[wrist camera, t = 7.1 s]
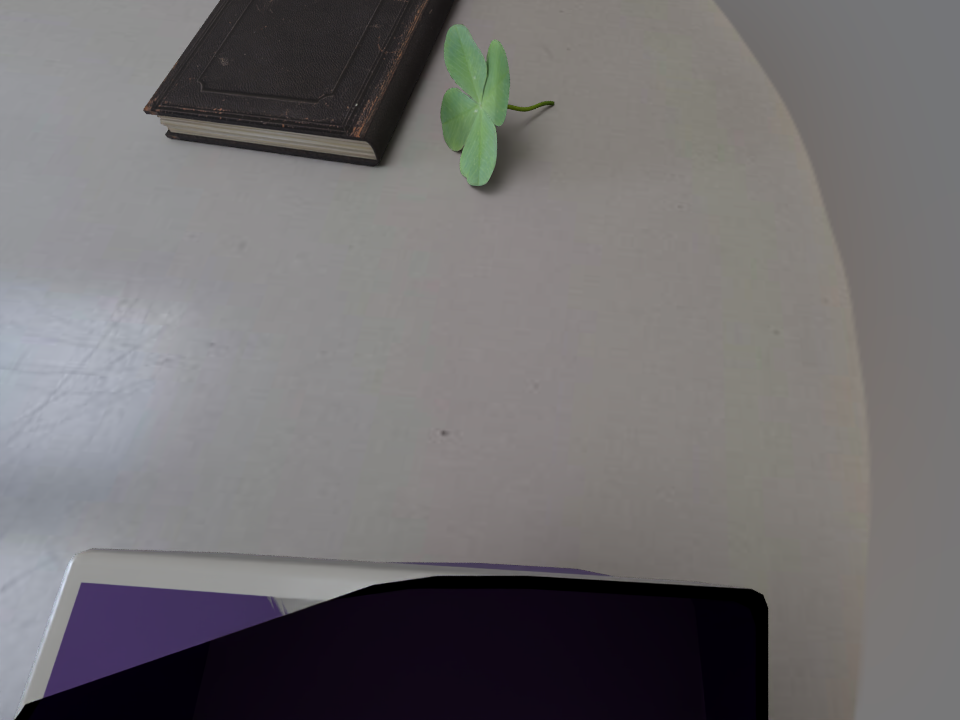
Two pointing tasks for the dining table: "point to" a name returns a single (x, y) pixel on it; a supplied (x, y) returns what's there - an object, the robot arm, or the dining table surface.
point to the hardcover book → (300, 75)
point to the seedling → (475, 102)
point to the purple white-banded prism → (390, 642)
